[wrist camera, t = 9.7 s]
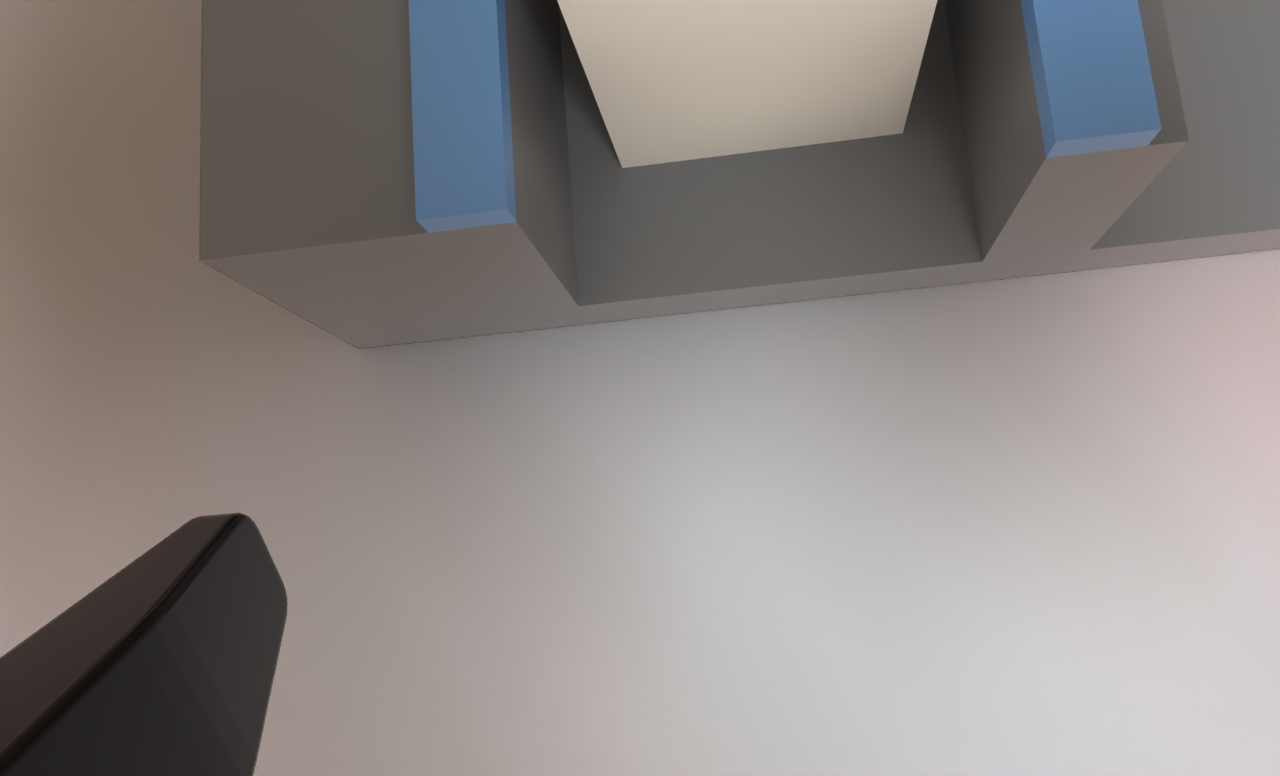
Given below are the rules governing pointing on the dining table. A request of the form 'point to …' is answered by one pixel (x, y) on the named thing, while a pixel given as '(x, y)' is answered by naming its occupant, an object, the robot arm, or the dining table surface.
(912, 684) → the dining table surface
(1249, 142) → the grey compartment tray
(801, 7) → the plug
